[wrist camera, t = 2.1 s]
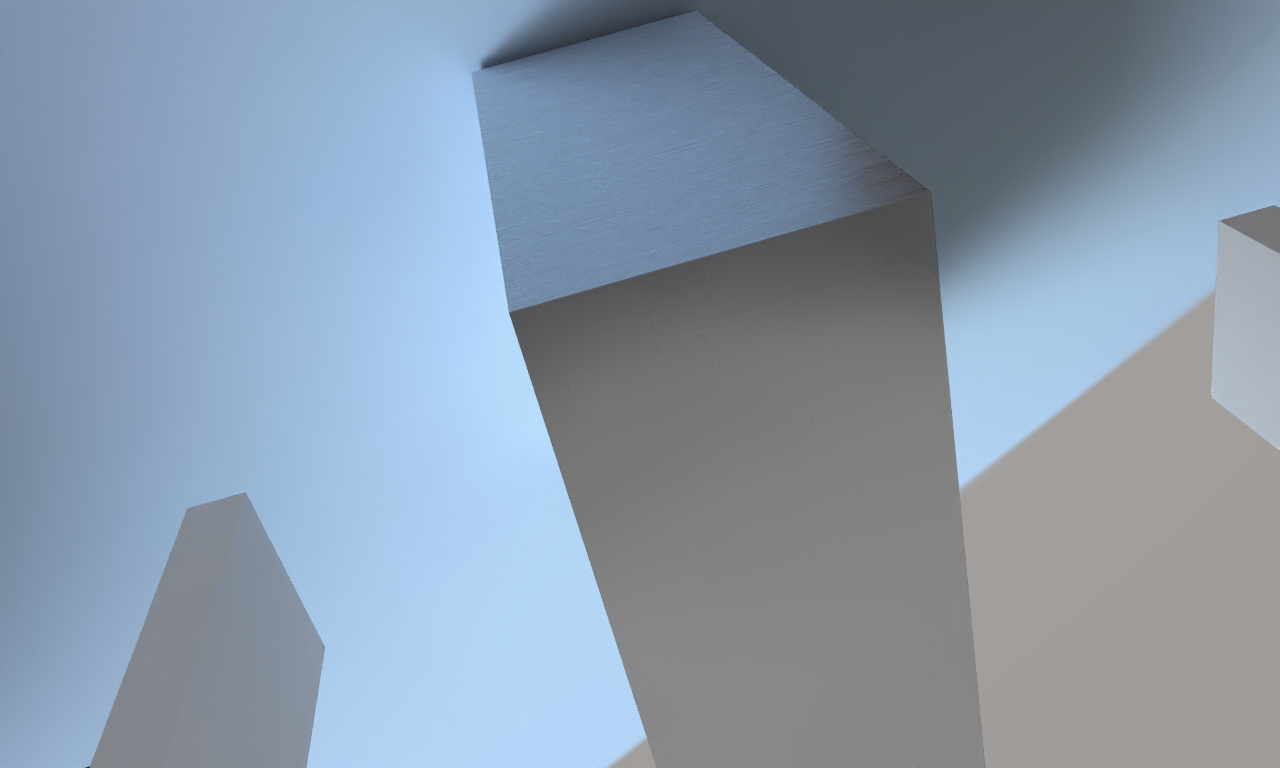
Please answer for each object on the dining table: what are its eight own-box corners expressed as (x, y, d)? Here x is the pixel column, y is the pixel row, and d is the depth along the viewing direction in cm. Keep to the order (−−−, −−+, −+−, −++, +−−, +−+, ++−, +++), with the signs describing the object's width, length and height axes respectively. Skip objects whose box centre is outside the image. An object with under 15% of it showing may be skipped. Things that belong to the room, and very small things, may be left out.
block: (587, 450, 22) (687, 861, 14) (472, 72, 18) (508, 311, 10) (770, 396, 22) (985, 769, 14) (695, 10, 18) (931, 192, 10)
